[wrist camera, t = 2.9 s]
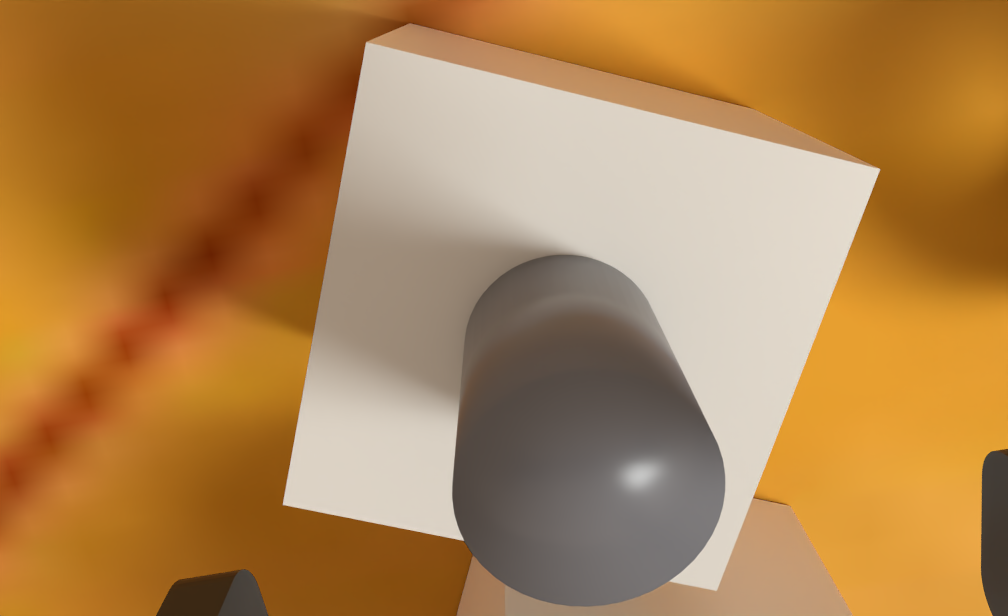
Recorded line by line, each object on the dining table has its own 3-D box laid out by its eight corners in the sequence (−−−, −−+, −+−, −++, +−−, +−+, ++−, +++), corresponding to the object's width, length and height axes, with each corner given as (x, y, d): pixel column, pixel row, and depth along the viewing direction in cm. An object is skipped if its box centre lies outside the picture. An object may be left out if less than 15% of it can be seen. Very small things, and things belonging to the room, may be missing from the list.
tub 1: (651, 414, 26) (793, 800, 14) (346, 348, 25) (204, 696, 13) (753, 108, 23) (1051, 250, 11) (410, 23, 22) (304, 68, 10)
